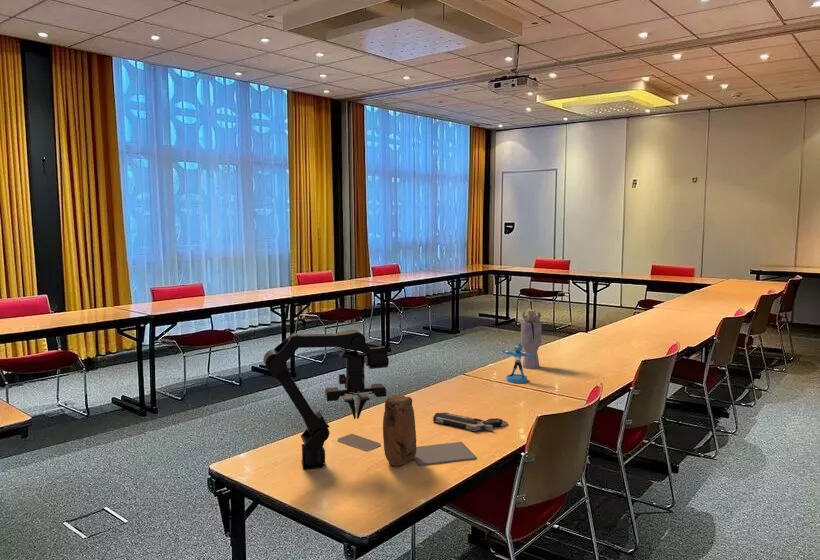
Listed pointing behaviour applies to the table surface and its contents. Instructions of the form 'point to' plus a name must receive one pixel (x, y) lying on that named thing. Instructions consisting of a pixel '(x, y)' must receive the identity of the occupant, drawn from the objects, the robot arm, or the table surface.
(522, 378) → the figurine
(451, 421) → the firearm
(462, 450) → the mat
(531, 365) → the purple tower sculpture
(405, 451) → the brown pitted rounded part
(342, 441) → the smartphone
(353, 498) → the table surface
